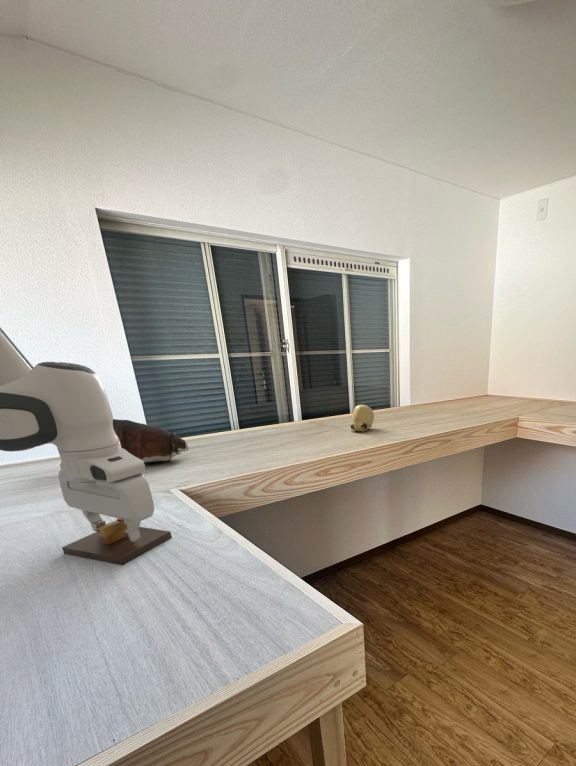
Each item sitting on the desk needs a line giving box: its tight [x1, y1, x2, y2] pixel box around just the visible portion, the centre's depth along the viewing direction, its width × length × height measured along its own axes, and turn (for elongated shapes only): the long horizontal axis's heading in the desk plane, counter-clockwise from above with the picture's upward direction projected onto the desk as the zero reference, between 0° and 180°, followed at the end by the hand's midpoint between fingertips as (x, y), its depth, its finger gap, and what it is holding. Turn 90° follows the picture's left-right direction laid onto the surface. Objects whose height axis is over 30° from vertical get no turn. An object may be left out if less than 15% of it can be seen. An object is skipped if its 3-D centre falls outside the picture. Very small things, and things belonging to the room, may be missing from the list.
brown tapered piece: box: [113, 418, 190, 463], centre depth 133 cm, size 15×15×25 cm
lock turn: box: [99, 518, 127, 545], centre depth 76 cm, size 5×1×3 cm, turn 155°
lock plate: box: [61, 526, 173, 566], centre depth 77 cm, size 14×11×3 cm
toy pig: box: [350, 404, 375, 433], centre depth 176 cm, size 10×12×11 cm
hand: (116, 534), depth 76 cm, fingers open, 8 cm apart
